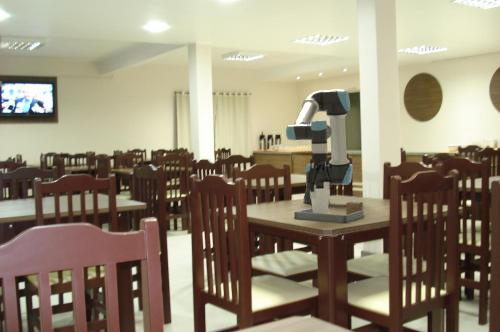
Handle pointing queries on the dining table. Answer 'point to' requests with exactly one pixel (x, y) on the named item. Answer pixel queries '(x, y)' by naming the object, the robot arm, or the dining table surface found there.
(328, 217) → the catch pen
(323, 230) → the dining table surface
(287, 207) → the dining table surface
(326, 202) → the foam cup
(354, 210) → the walnut block
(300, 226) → the dining table surface
